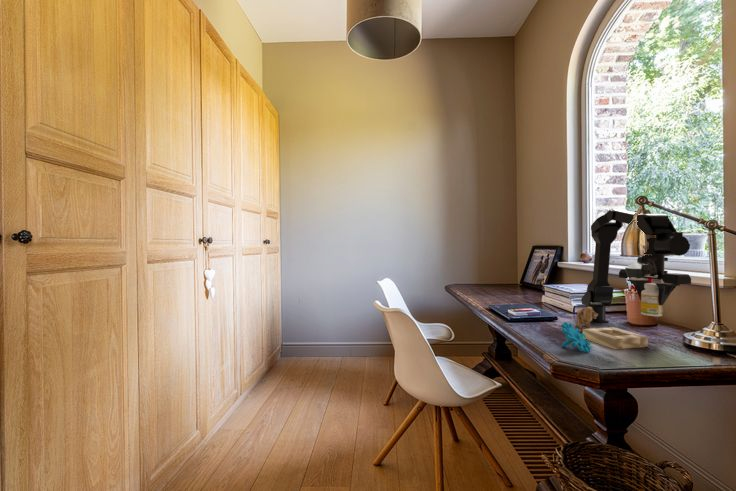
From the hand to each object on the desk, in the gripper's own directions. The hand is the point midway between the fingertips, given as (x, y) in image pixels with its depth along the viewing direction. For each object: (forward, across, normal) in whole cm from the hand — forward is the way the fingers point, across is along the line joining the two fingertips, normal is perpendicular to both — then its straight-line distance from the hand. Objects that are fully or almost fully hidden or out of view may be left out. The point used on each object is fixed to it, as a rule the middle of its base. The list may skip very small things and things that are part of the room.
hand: (651, 303), depth 113 cm
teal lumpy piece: (+13, +1, -28) cm, 31 cm away
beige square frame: (+12, -3, -11) cm, 17 cm away
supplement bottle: (+4, 0, 0) cm, 4 cm away
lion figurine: (+13, -19, -6) cm, 24 cm away
